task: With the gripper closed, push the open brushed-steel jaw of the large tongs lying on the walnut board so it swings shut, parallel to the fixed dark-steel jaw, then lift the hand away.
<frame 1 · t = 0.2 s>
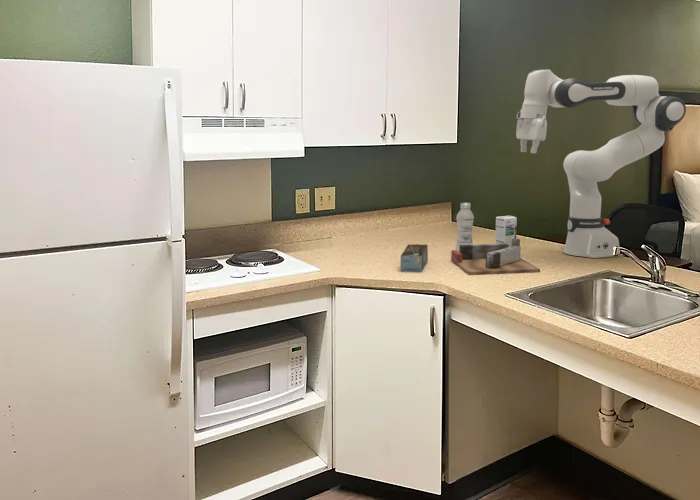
hand: (528, 152, 231), 39 cm above the worktop, tool pointing down, fingers open, 8 cm apart
beverage carton: (414, 266, 226), on the worktop
tongs base: (515, 260, 231), on the worktop
syrup box: (505, 253, 243), on the worktop
plastic bottle: (464, 254, 243), on the worktop
jaw: (504, 256, 221), point 4 cm above the worktop, hinge at 38.0°
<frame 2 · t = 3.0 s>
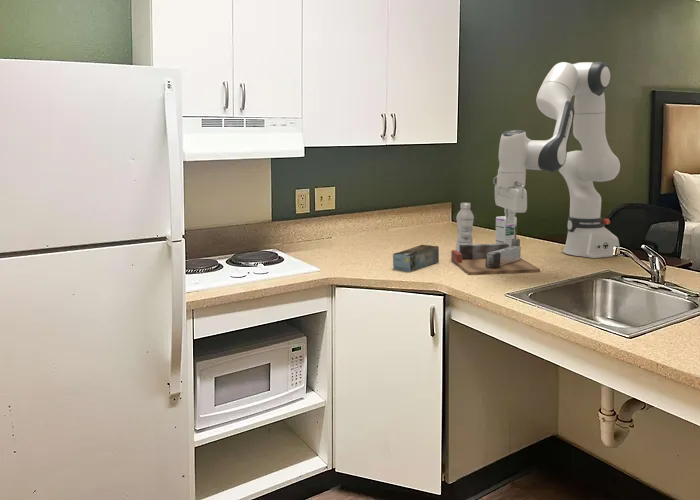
hand: (509, 222, 206), 18 cm above the worktop, tool pointing down, fingers closed
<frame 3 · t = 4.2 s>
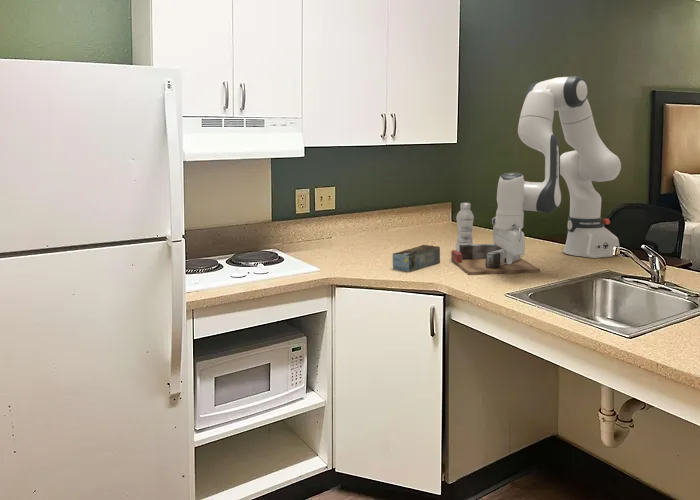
hand: (507, 263, 209), 4 cm above the worktop, tool pointing down, fingers closed
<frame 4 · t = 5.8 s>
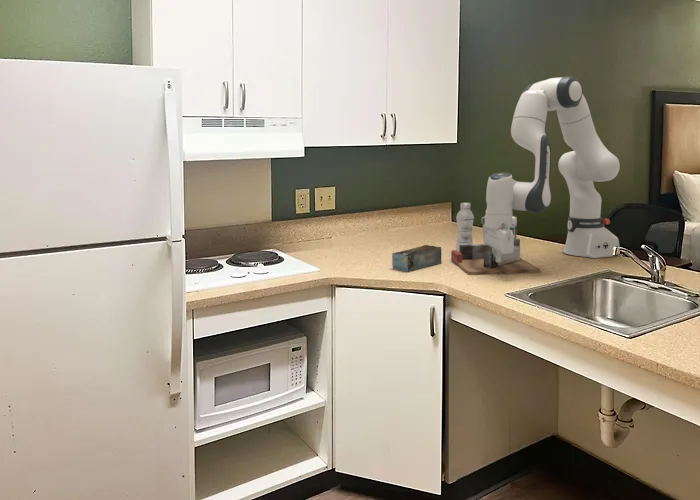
hand: (497, 261, 213), 4 cm above the worktop, tool pointing down, fingers closed
jaw: (502, 256, 221), point 4 cm above the worktop, hinge at 35.5°, touching gripper
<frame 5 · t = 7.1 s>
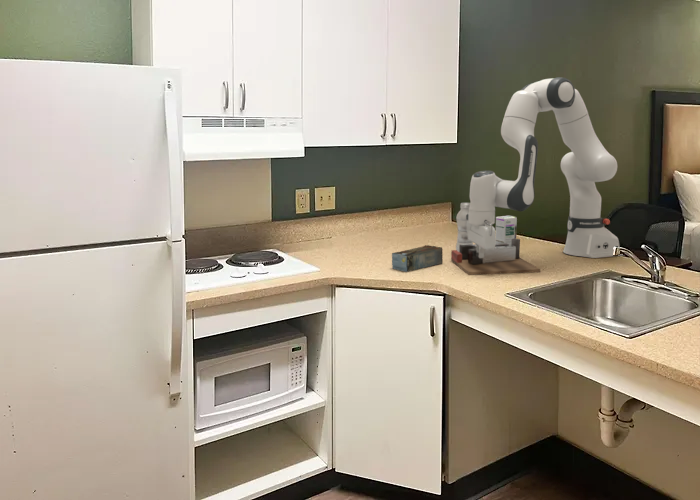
hand: (480, 257, 219), 4 cm above the worktop, tool pointing down, fingers closed
jaw: (492, 254, 224), point 4 cm above the worktop, hinge at 13.1°, touching gripper
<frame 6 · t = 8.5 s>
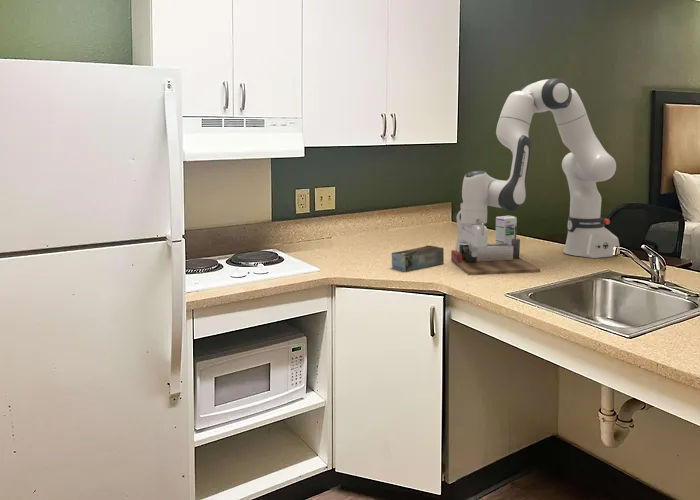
hand: (473, 256, 222), 4 cm above the worktop, tool pointing down, fingers closed
jaw: (488, 253, 226), point 4 cm above the worktop, hinge at 1.4°, touching gripper
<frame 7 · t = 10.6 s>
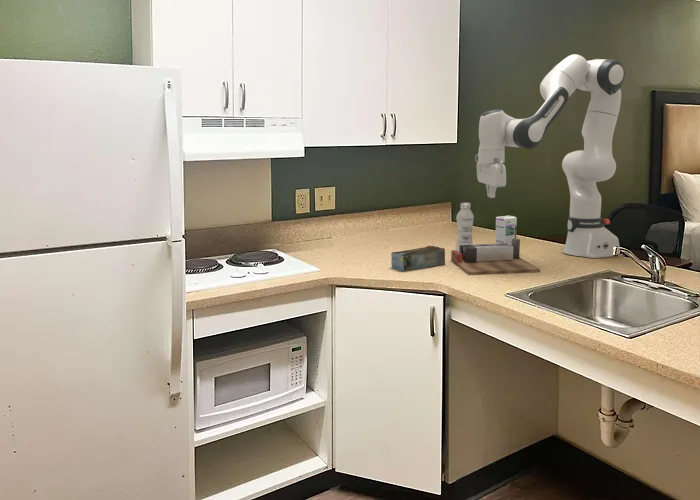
hand: (491, 197, 220), 24 cm above the worktop, tool pointing down, fingers closed
jaw: (488, 253, 226), point 4 cm above the worktop, hinge at 1.2°
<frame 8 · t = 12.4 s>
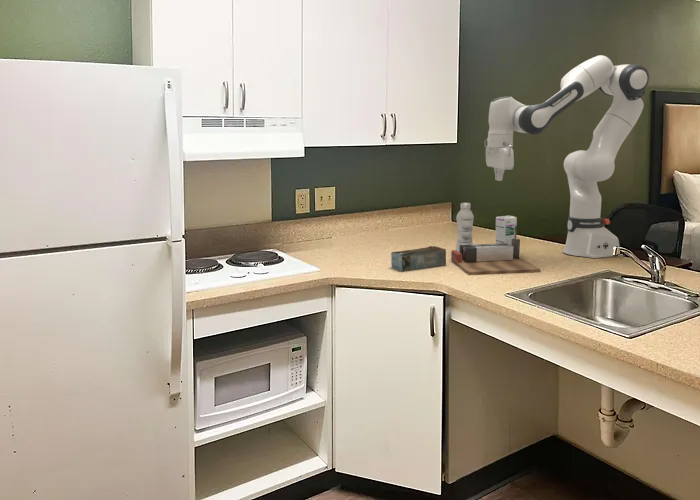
hand: (498, 180, 230), 29 cm above the worktop, tool pointing down, fingers closed
at the end: jaw at +1° (first picture: +38°) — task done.
